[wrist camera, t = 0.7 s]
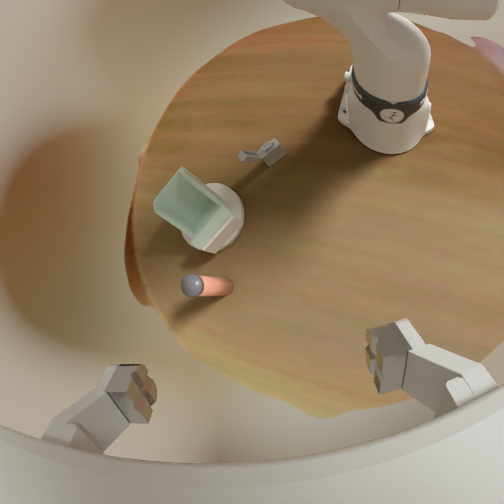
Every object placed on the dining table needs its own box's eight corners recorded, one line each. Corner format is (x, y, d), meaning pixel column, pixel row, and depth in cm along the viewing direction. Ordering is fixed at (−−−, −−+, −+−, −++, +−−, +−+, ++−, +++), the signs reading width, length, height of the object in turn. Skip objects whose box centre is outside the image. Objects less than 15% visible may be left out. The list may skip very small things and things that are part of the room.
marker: (218, 276, 54) (182, 272, 43) (234, 279, 53) (201, 276, 42) (215, 294, 54) (179, 294, 43) (232, 297, 53) (198, 298, 42)
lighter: (280, 148, 53) (268, 127, 46) (286, 153, 53) (274, 133, 45) (252, 171, 55) (235, 154, 47) (257, 177, 54) (240, 160, 47)
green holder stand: (174, 221, 59) (134, 207, 48) (215, 173, 57) (181, 148, 46) (211, 266, 55) (173, 259, 43) (258, 214, 53) (230, 194, 41)
